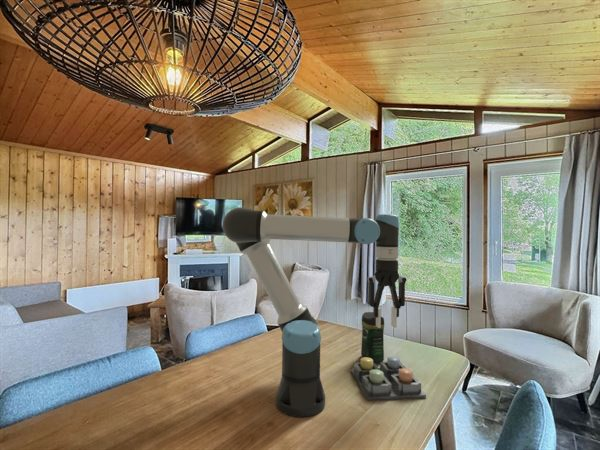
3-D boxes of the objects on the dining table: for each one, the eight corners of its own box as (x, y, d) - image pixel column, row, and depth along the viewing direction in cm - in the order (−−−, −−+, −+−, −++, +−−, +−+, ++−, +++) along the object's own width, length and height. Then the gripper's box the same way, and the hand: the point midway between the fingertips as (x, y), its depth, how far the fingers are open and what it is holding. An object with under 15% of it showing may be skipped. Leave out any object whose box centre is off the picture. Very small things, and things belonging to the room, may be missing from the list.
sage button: (372, 385, 102) (372, 375, 102) (367, 378, 106) (367, 369, 106) (385, 384, 103) (385, 375, 103) (380, 378, 107) (380, 369, 107)
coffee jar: (387, 363, 127) (387, 316, 127) (368, 364, 125) (369, 317, 125) (375, 353, 136) (376, 310, 136) (358, 355, 134) (359, 311, 134)
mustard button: (362, 371, 112) (362, 362, 112) (358, 365, 116) (359, 357, 116) (374, 370, 112) (374, 362, 113) (370, 365, 117) (370, 357, 117)
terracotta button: (402, 384, 103) (402, 374, 103) (396, 377, 108) (396, 368, 108) (415, 383, 104) (415, 374, 104) (408, 377, 108) (409, 368, 108)
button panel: (367, 400, 99) (368, 388, 99) (350, 371, 119) (350, 361, 119) (425, 397, 101) (426, 385, 101) (399, 369, 121) (399, 359, 121)
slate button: (390, 370, 113) (390, 361, 113) (385, 364, 117) (385, 356, 117) (401, 369, 114) (402, 361, 114) (396, 364, 118) (396, 356, 118)
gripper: (365, 260, 106) (364, 330, 105) (416, 260, 108) (415, 329, 107) (358, 257, 113) (357, 323, 113) (406, 258, 115) (406, 322, 115)
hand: (386, 326), depth 110 cm, fingers open, 5 cm apart
